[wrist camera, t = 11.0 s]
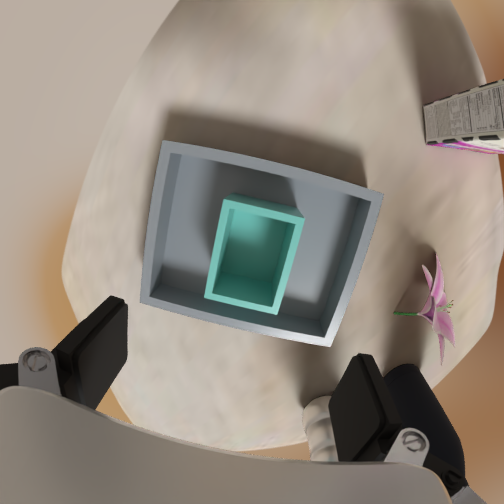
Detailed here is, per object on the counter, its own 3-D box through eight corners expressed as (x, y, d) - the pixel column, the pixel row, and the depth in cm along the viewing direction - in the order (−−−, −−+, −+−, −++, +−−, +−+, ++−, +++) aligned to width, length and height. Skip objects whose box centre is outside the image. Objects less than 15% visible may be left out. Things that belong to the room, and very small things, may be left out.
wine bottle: (420, 357, 33) (515, 530, 5) (417, 388, 35) (489, 546, 6) (380, 371, 34) (454, 567, 5) (379, 401, 36) (434, 574, 7)
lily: (430, 336, 34) (485, 343, 24) (371, 368, 30) (431, 388, 21) (422, 252, 34) (480, 244, 25) (360, 268, 30) (426, 262, 21)
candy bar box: (486, 116, 24) (581, 109, 8) (490, 154, 25) (587, 163, 9) (419, 102, 24) (521, 70, 9) (423, 145, 26) (533, 142, 10)
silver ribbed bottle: (340, 418, 37) (363, 530, 18) (297, 419, 37) (304, 538, 18) (351, 388, 35) (386, 511, 16) (304, 389, 35) (318, 522, 16)
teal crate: (232, 192, 28) (223, 198, 22) (297, 207, 28) (305, 218, 22) (215, 273, 30) (203, 297, 24) (275, 287, 30) (277, 314, 24)
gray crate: (177, 143, 27) (162, 139, 23) (367, 189, 28) (383, 194, 23) (154, 285, 32) (139, 302, 28) (323, 325, 32) (330, 347, 28)
